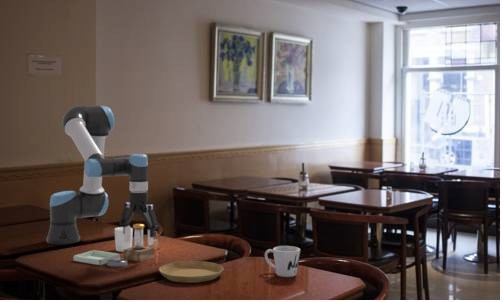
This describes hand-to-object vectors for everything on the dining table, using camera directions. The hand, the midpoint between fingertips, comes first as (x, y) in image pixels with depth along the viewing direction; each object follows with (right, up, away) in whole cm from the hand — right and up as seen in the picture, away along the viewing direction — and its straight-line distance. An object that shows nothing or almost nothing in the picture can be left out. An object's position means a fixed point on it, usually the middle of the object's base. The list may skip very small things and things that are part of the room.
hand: (138, 243), depth 261 cm
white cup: (-9, -6, +16) cm, 19 cm away
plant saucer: (+24, -9, -25) cm, 36 cm away
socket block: (0, -7, 0) cm, 7 cm away
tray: (-17, -7, -3) cm, 18 cm away
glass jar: (0, -6, 0) cm, 6 cm away
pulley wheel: (-7, -7, -11) cm, 15 cm away
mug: (+58, -9, -20) cm, 63 cm away
